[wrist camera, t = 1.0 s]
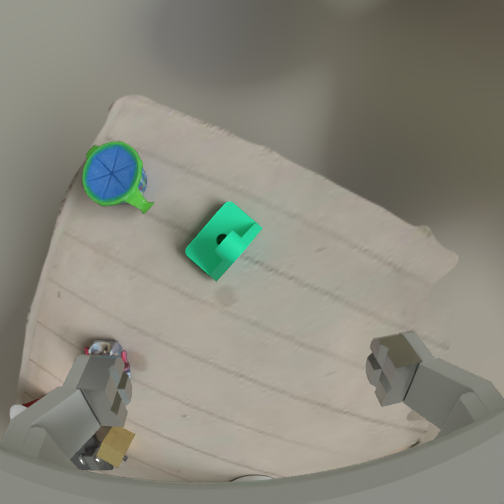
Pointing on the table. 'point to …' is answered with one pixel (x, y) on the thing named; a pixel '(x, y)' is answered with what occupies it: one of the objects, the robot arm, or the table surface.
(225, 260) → the camera mount
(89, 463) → the shaft stand
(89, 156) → the snack cup
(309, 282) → the table surface
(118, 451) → the block
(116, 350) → the brake caliper
